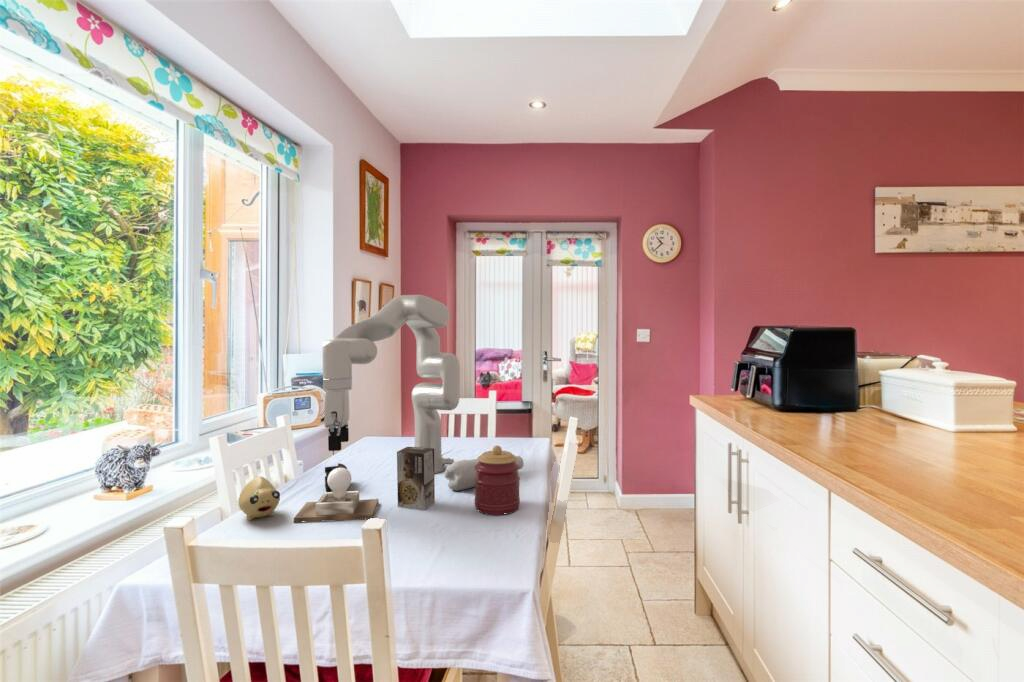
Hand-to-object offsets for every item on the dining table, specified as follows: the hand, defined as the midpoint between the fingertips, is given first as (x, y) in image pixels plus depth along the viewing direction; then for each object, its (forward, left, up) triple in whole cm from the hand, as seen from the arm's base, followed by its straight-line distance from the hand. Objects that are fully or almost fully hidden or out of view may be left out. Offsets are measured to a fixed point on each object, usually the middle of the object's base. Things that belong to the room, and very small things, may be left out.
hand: (338, 445), depth 135 cm
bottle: (-43, -22, -19) cm, 52 cm away
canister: (-44, +2, -19) cm, 48 cm away
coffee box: (-21, -3, -19) cm, 28 cm away
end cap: (+5, -22, -19) cm, 29 cm away
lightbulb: (0, 0, -17) cm, 17 cm away
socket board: (0, 0, -18) cm, 18 cm away
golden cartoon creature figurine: (+20, +1, -19) cm, 28 cm away
